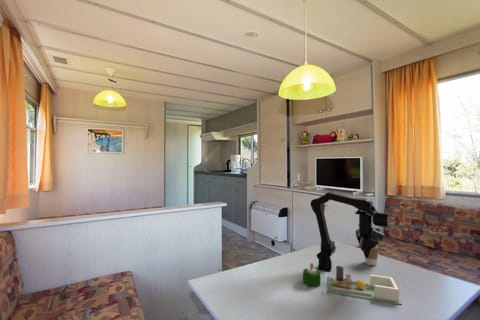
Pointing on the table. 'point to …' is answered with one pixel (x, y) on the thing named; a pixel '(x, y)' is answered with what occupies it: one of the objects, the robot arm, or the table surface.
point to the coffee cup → (373, 254)
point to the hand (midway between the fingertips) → (364, 254)
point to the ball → (360, 284)
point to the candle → (311, 277)
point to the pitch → (370, 289)
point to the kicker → (342, 279)
